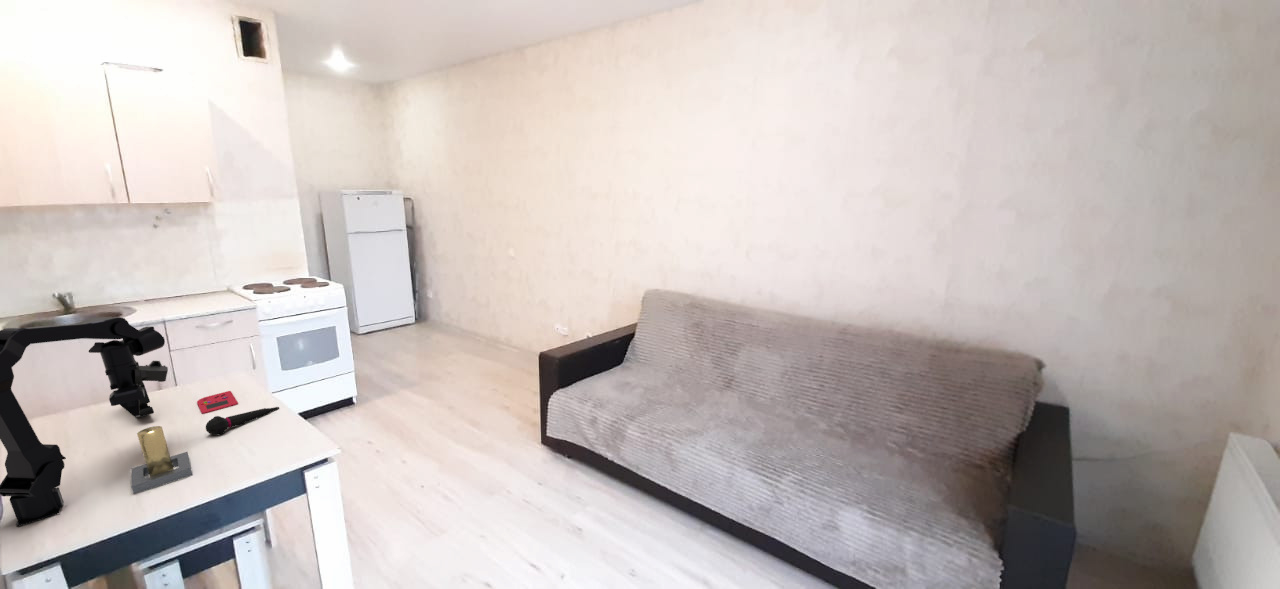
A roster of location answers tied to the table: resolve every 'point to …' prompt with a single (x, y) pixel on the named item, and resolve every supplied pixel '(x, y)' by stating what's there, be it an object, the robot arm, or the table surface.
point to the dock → (140, 472)
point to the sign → (144, 405)
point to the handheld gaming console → (216, 402)
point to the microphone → (234, 420)
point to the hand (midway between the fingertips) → (136, 415)
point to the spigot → (155, 450)
